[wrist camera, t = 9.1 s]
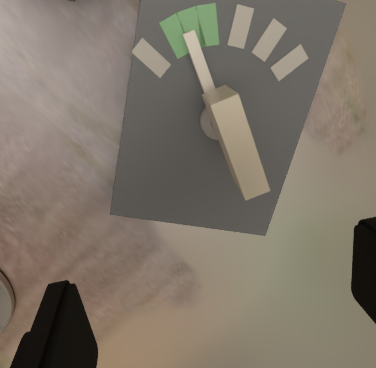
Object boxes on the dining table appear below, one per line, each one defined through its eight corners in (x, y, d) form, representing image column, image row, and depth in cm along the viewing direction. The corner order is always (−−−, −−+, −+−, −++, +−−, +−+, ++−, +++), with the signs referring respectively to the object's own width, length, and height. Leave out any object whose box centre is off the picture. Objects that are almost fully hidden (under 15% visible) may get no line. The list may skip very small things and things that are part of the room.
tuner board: (261, 229, 37) (265, 236, 35) (109, 208, 34) (108, 215, 33) (338, 4, 28) (347, 3, 27) (146, -49, 26) (145, -53, 24)
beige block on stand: (246, 147, 31) (280, 187, 23) (214, 160, 31) (235, 204, 23) (204, 23, 27) (227, 19, 19) (167, 40, 27) (173, 43, 19)
